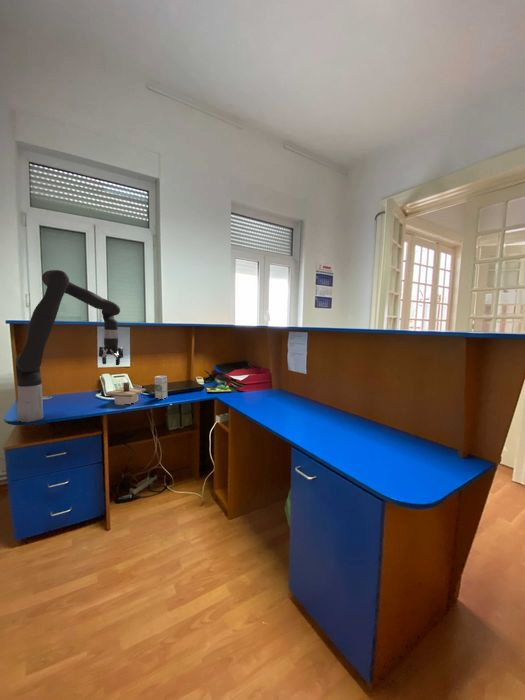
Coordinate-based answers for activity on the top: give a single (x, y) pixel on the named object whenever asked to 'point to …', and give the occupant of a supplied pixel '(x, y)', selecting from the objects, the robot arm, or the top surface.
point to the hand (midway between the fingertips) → (111, 364)
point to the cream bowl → (125, 400)
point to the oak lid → (126, 391)
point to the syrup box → (160, 387)
